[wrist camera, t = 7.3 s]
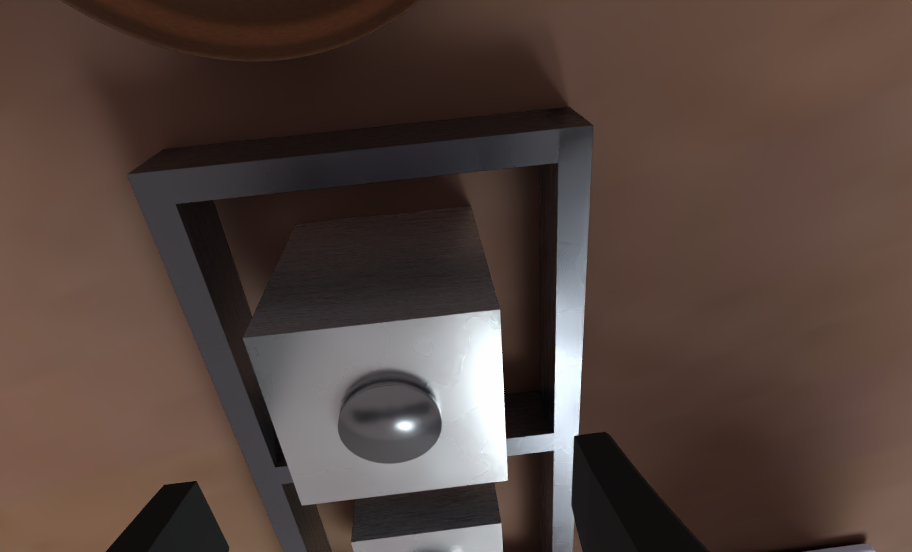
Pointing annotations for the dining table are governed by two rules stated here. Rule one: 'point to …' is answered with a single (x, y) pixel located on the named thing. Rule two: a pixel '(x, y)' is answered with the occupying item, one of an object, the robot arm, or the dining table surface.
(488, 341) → the grey square block
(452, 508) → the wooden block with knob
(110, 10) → the cup and saucer
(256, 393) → the grey flat rectangular frame
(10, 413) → the dining table surface
